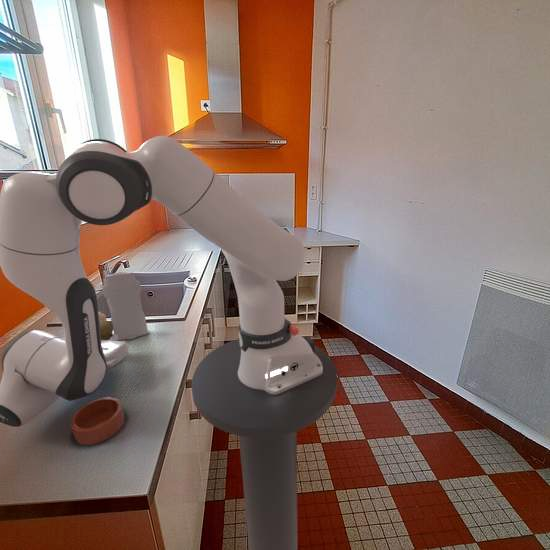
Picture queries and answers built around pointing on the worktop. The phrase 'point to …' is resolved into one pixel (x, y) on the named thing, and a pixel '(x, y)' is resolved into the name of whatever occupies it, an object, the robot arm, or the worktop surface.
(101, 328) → the cork
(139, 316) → the grey tall flat block
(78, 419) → the holder
